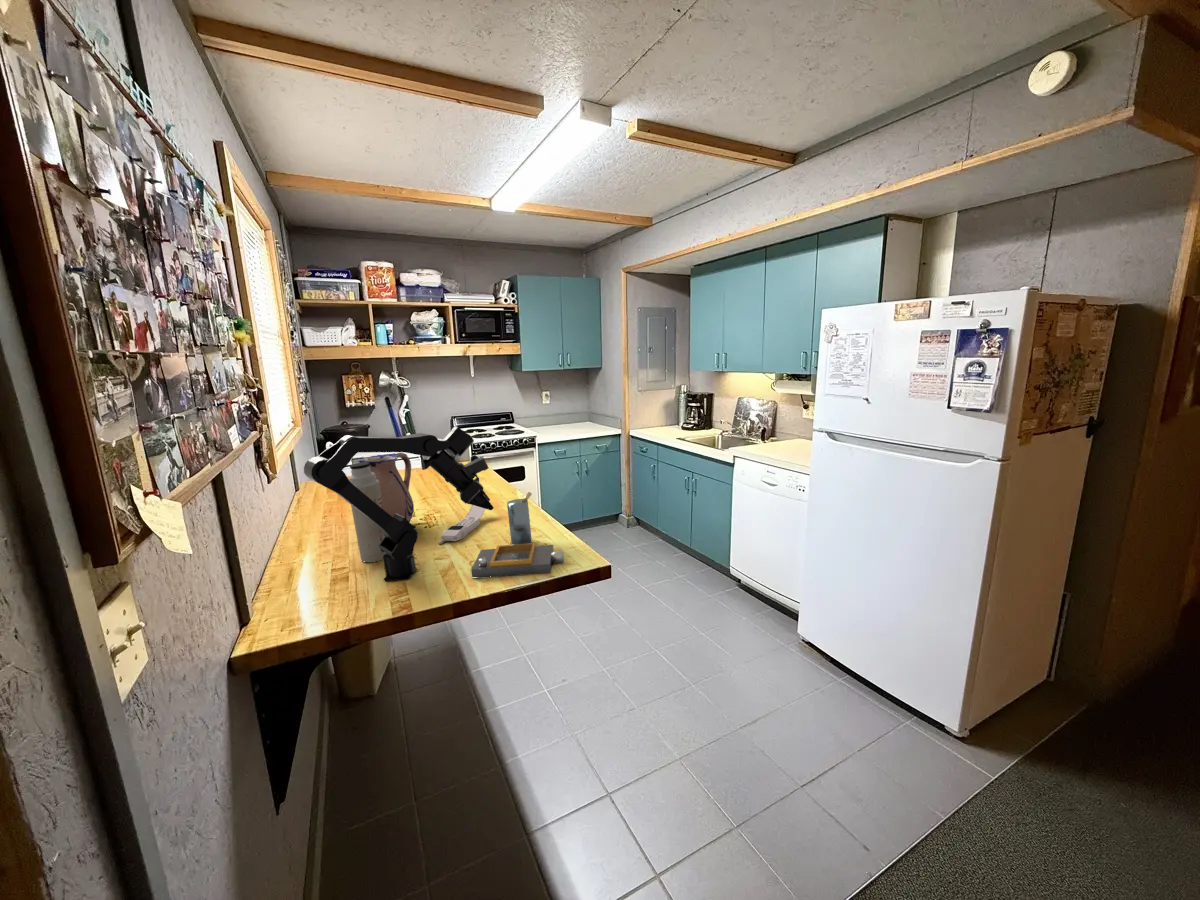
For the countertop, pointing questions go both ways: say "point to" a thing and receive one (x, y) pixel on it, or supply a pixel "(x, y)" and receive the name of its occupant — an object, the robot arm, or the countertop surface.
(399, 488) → the ceramic pitcher
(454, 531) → the mobile phone
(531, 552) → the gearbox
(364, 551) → the thermos bottle
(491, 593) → the countertop surface
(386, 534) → the robot arm
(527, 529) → the spout can
